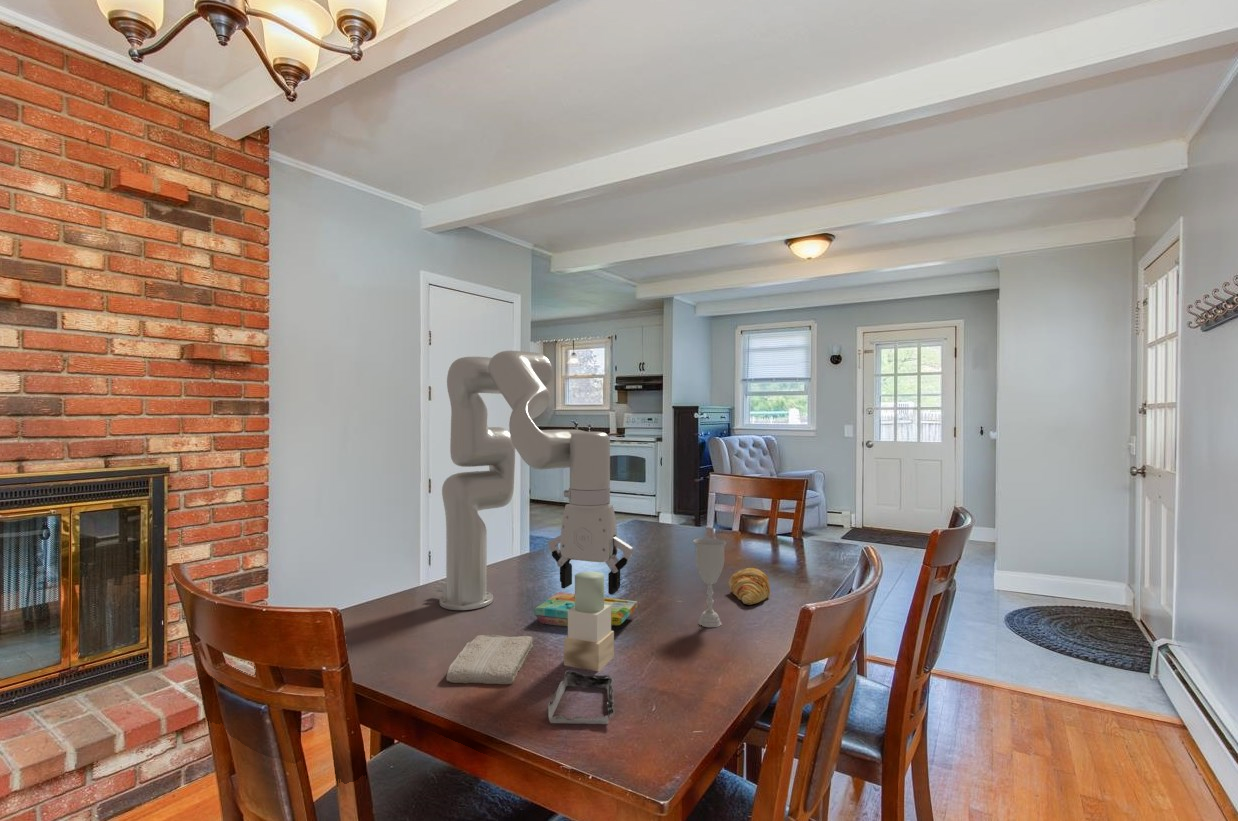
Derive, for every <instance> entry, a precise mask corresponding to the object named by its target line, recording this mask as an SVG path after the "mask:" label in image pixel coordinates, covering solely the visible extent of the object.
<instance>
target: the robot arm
mask: <svg viewBox="0 0 1238 821" xmlns="http://www.w3.org/2000/svg"><path fill="white" fill-rule="evenodd" d="M553 371H554V369H553V365H552V362H550V360H549V358H548V357H546V356H545V355H544V354H543V353H538V352H534V351H533V352H532V351H531V352H529V351H521V350H519V351H518V350H503V351H500V352H497V353H496V354H494V355H493V356H492V357H487V356H465V357H464V356H463V357H460V358H459V357H458V358H457V359H455V360H454V361H453V362H452V363H451V365H450V366H449V368H448V371H447V375H446V376H447V377H446V387H447V393H448V398H449V402H450V409H451V412H450V413H451V415H450V439H449V440H450V443H449V444H450V447H449V448H450V449H449V450H450V451H449V452H450V457H451V458H450V459H451V461H452V463H453V464H454V465H455V466H459V467H463V468H465V467H466V468H467V467H468V468H471V467H474V468H475V467H485V466H487V467H489V468H488V470H480V471H479V470H476V471H464V472H457V473H455V474H451V475H449V477H447V478H446V479H445V480H444V481H443V484H442V487H441V493H442V494H441V495H442V501H443V506H444V512H445V514H444V516H445V527H446V528H445V532H446V533H445V534H446V535H445V536H446V537H445V539H446V544H445V547H446V548H445V549H446V550H445V555H446V557H445V561H446V564H445V565H446V566H445V571H446V572H445V574H446V575H445V577H446V578H445V580H446V581H444V580H443V581H441V580H438V582H437V583H436V585H435V586H434V591H435V592H441V593H442V596H441V597H440V599H439V606H440V607H441V608H443V609H445V610H446V609H447V610H450V611H451V610H452V611H470V610H476V609H481V608H484V607H486V606H489V605H490V604H491V603H492V602H493V601H494V595H493V594H492V593H491V592H489V591H487V588H488V587H487V584H488V583H487V580H488V578H487V574H488V573H487V572H488V571H487V570H488V566H487V564H488V561H487V559H488V557H487V556H488V555H487V554H488V553H487V552H488V551H487V548H488V546H487V544H488V539H487V538H488V537H487V534H488V533H487V531H488V530H487V527H486V524H485V521H484V520H483V519H482V518H481V516H480V515H479V513H478V512H479V511H484V510H489V509H491V510H492V509H499V508H503V507H505V506H507V505H509V504H510V503H511V501H512V499H513V496H514V490H515V487H514V486H515V467H516V466H515V464H516V451H517V453H518V454H519V456H520V457H521V459H522V460H523V462H524V463H525V464H526V465H528V466H529V467H530V468H532V469H535V470H540V471H541V470H555V469H568V468H569V487H568V490H566V489H565V490H563V497H564V498H567V499H568V503H567V504H565V506H564V510H563V516H562V520H561V528H560V530H561V532H560V535H558V536H556V537H554V538H552V539H550V540H548V541H547V547H548V548H549V551H550V552H551V557H552V558H553V559H554V560H555V562H556V564H557V566H558V568H559V582H560V588H561V589H566V588H568V587H569V586H571V585H572V584H573V564H572V563H570V562H571V560H574V561H582V562H583V561H584V562H591V563H605V564H606V565H607V567H608V568H609V569H610V571H609V572H608V575H607V576H608V577H607V578H608V579H607V580H608V583H607V584H608V585H607V586H608V587H607V588H608V589H607V590H608V594H609V595H614V594H615V593H616V592H618V591H619V589H620V588H621V570H622V569H623V568H625V566H626V565H627V564H628V563H629V562H630V560H631V558H632V556H633V554H634V552H635V548H634V547H632V545H630V544H628V543H627V542H625V541H624V540H622V539H620V538H619V537H618V530H617V529H618V528H617V519H616V514H615V509H614V505H613V504H611V440H610V439H611V438H610V436H609V435H608V434H607V433H606V432H603V431H585V430H581V429H539V427H538V426H537V425H536V424H535V422H534V421H533V420H535V419H536V418H538V417H539V416H540V415H542V413H544V412H545V411H546V409H547V408H548V407H549V404H550V403H551V393H550V391H549V389H548V388H547V387H549V385H550V384H551V382H552V381H553V376H554V372H553ZM480 394H492V395H493V394H497V395H500V394H501V395H502V396H503V398H504V399H505V400H506V402H507V404H508V405H509V407H510V408H511V410H512V411H511V413H510V416H509V422H508V423H509V424H508V426H509V430H508V429H506V428H504V427H498V426H497V427H495V426H491V427H488V408H487V405H486V403H485V401H484V400H483V398H482V397H481V395H480ZM559 548H560V549H559ZM618 549H619V550H618ZM618 551H621V552H622V554H623V555H622V557H621V558H620V559H619V557H617V555H618Z"/></svg>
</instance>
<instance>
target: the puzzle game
mask: <svg viewBox="0 0 1238 821" xmlns="http://www.w3.org/2000/svg"><path fill="white" fill-rule="evenodd" d="M604 604H606V605H611V626H621V625H622V624H623V623H624V622H625V621H626V620H627V618H628V617H629V616H630V615H631V614H632V613H633V612H634V611H635V610H636V609H637V608H638V604H639V602H638V601H635V600H627V599H619V598H611V597H604ZM574 606H575V593H570V592H562V591H560V592H556V593H555V594H553V595H552V596H550V597H549V598H548V599H547V600H545V601H544V602H542V603H541V604H539V605H538V606H536V607H534V616H535V617H536V618H537V620H539V622H540V623H541V624H544V623H545V624H546V625H553V626H560V627H562V626H563V627H567V628H568V610H570V609H571V608H573V607H574ZM545 624H544V625H545Z"/></svg>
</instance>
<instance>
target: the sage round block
mask: <svg viewBox="0 0 1238 821" xmlns="http://www.w3.org/2000/svg"><path fill="white" fill-rule="evenodd" d="M574 594H575V610H577V611H579V612H586V613H592V612H598V611H601V610H603V609H604V598H605V574H604V573H602V572H598V571H581V572H578V573H576V574H574Z"/></svg>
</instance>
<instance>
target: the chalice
mask: <svg viewBox="0 0 1238 821" xmlns="http://www.w3.org/2000/svg"><path fill="white" fill-rule="evenodd" d="M693 543H694V545H695V565H696V568H697V571H698V573H699V575H700V578H701V580H702V581H703V582H704V583H705V584H707V585H706V586H707V590H706V592H705V593H706V596H707V599H706V600H705V602H706V604H707V609H706V610H704V611H703V612H701V615H700V617H699V620H698V622H697V623H698V625H699V626H701V625H702V627H704V628H705V627H706V628H718V627H721V626H722V622H721V619H720V617H719V614H718V613H717V612H716V611H714V609H713V604H714V602H715V600H714V599H713V594H714V591H713V585H714V584H716V583H717V582H718V580H719V578H720V575H721V574H722V571H723V569H724V565H725V546H726V544H727V541H726V540H724V539H722V538H721V539H720V538H714V537H702V538H701V537H698V538H696V539H693ZM720 625H721V626H720Z"/></svg>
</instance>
